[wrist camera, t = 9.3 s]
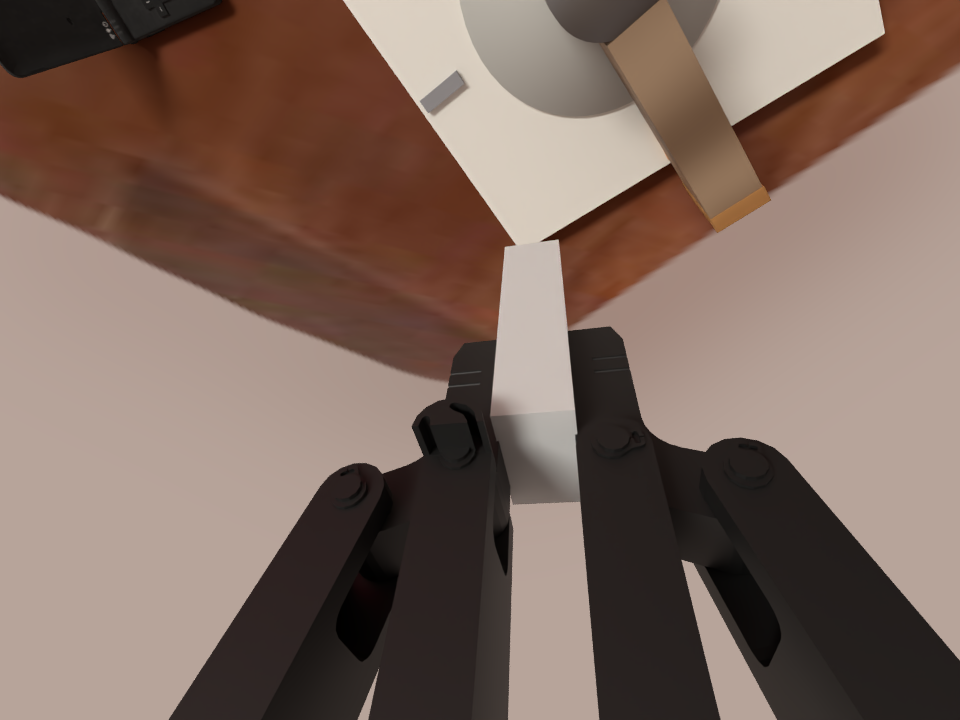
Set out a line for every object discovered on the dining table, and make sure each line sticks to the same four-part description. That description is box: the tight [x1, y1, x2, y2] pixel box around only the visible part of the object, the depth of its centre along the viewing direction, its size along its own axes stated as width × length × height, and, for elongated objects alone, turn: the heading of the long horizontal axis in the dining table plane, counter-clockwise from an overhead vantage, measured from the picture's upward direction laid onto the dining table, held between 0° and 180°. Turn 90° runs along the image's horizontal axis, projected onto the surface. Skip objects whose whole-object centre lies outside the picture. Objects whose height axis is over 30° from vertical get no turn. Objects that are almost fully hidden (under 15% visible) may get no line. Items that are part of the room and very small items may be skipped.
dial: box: [545, 0, 771, 233], centre depth 22 cm, size 14×4×6 cm, turn 41°
